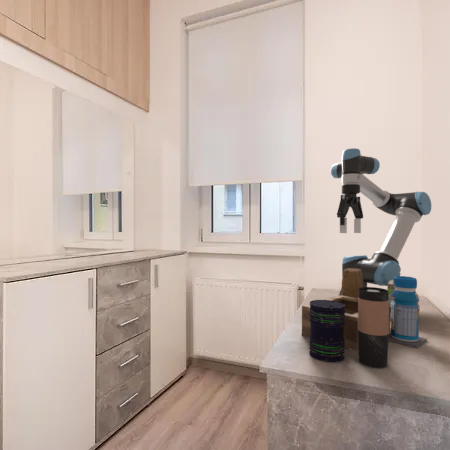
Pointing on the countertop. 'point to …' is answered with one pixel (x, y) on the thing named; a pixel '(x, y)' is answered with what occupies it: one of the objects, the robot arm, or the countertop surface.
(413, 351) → the countertop surface
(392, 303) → the beverage bottle
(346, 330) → the walnut box
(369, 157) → the robot arm
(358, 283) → the block
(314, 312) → the storage jar
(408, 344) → the charcoal mat
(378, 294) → the travel mug
